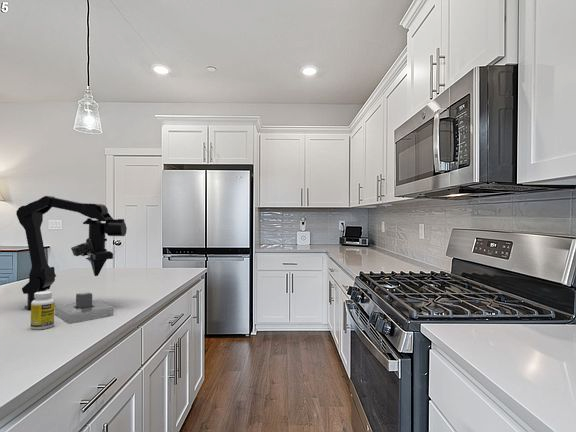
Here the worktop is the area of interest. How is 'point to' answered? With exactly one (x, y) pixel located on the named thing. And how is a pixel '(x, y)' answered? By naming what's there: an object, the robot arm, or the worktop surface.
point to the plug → (84, 300)
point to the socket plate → (83, 312)
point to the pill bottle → (42, 310)
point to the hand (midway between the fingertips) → (96, 275)
